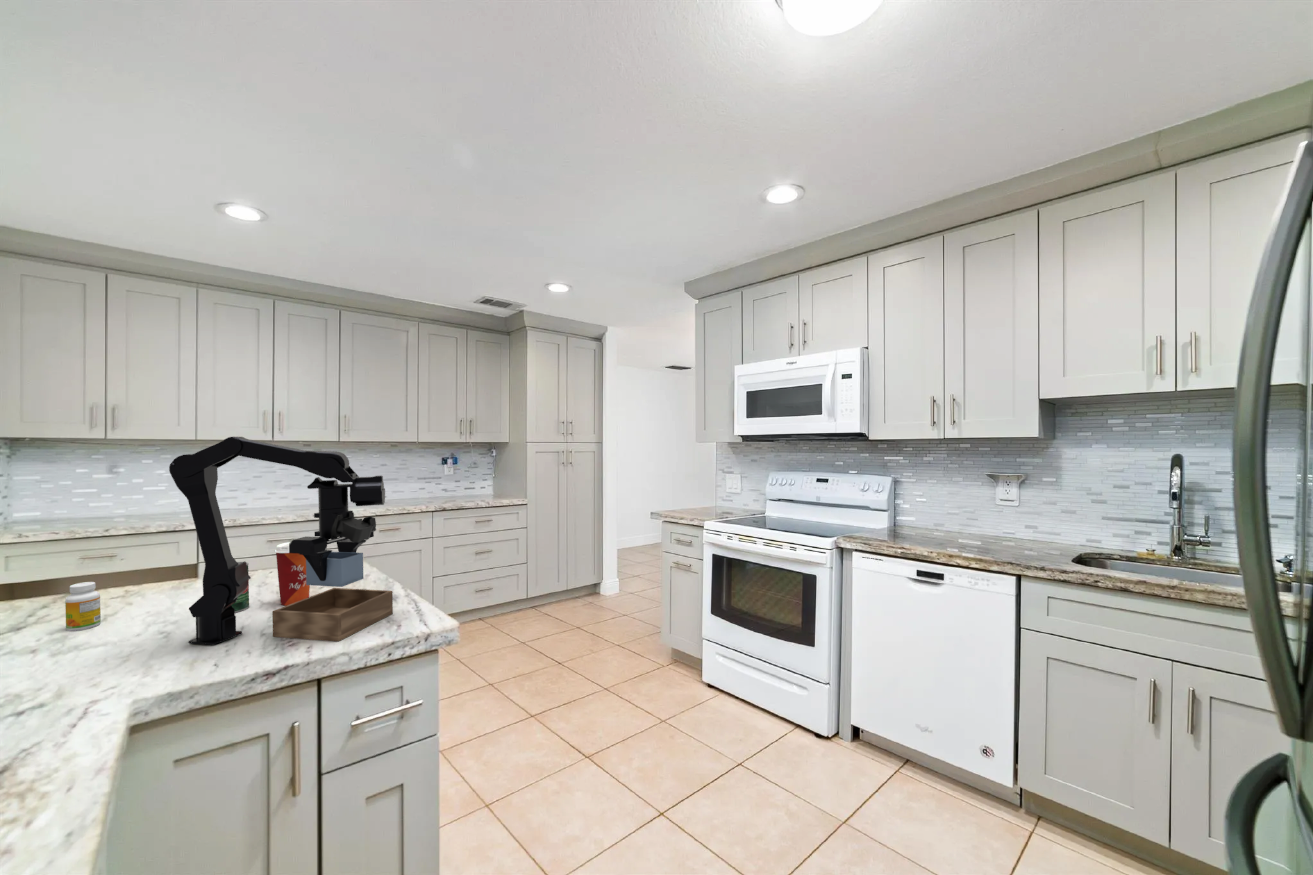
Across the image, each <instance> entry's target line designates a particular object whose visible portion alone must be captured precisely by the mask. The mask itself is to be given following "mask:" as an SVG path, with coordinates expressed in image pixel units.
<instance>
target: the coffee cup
mask: <svg viewBox="0 0 1313 875" xmlns="http://www.w3.org/2000/svg"><path fill="white" fill-rule="evenodd" d="M290 542H291V541H290ZM290 542H289V541H288V542H283V543H279V544H277V545H276V546H275V547H276V548H275V550H274V553H275V558H276V566H277V580H278V591H279V599H280V605H281V606H283V607H285V606H287V605H290V604H293V603H295V602H298V601H300V600H303V599H306V598H308V597H310V586H311V585H306V558H305V557H304V556H303V555H299V554H297V553H289V543H290Z"/></svg>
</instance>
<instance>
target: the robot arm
mask: <svg viewBox="0 0 1313 875" xmlns="http://www.w3.org/2000/svg"><path fill="white" fill-rule="evenodd" d="M237 457H242V458H247V459H254V460H259V461H263V462H269V463H274V464H279V465H285V466H290V467H296V468H299V469H300V470H301V469H302V470H304V471H305V472H308V473H310V474H314V475H317V476H318V477H315V478H314V480H313V481H312V482H311V483H310V484H308V485H307V486H306V487H307V489H310V490H311V489H312V490H313V489H318V490H317V494H318V512H314V513H313V518H314V519H318V530H317V531H314V536H302V537H298V538H294V539H292V540H291V541H290V543H289V553H297V554H299V555H303V556H304V557H305V558H306V560H307V561H308V562H309V564H310V565H311V567H312V568H313V570H314V571H315V573H316V575H317V576H318V578H319V580H320V581H325V580H326V573H327V557H328V555H329V554H330V553H331V552H333V550H331V549H328V545H331V544H334V543H336V547H337V550H338V551H337V552H355V553H357V550H358V549H359V548H360V547H361V546H362V545H363V544H364V543H366V542H367V541H368V540H370V538H371V539H372V538H374V537H375V532H376V531H377V528H376V526H377V522H376V521H377V520H376V517H374V516H366V517H364V518H363V519H362V518H356V517H355V513H354V511H353V510H349V500H350V503H352V504H354V505H355V507H367V506H369V507H370V506H384V505H385V501H386V488H385V485H384V483H385V482H384V476H383V475H374V476H359V475H358V474H357V473H356V471H354V469H353V468H352V467H351V465H350V460H349V458H348V457H347V455H346V454H345V453H343V452H341V451H334V450H333V451H330V450H307V449H306V450H304V449H299V448H294V447H290V446H284V445H280V444H273V443H269V442H264V441H259V440H253V439H248V438H245V437H243V436H229V437H227V438H225V439H223V440H222V441H220V442H218V443H215V444H212V445H211V446H208V447H205V448H203V449H201V450H199V451H197V452H195V453H188V454H182V455H178V456H177V457H176V458H174V459H173V460H172V462H170V464H169V466H168V467H169V468H168V470H169V475H171V478H172V480H173V482H174V483H175V486H176V487H177V489H178V490H179V491H180V492H181V493H182V494H183V496H184V497H186V500H187V502H188V505H189V510H190V512H191V516H192V520H193V524H194V527H195V531H196V535H197V539H198V542H199V546H200V549H201V553H202V557H203V561H204V571H203V575H202V576H203V577H202V596H201V597H199V598H198V599H197V600H196V601H195V602H194V603H193V604H192V605H191V606H189V608H188V610H189V612H190V614H191V617H193V618H195V638H192V639H190V640H188V644H192V645H193V644H195V645H206V646H207V645H208V646H214V645H218V644H221V643H222V642H225V641H228V640H230V639H233V638H235V637H237V636H239V635H242V634H243V631H242V630H237V616H236V613H235V608H233V607H232V606H231V605H232V604H233V603H235V602H236V601H237V598H238V596H239V595H241V594H242V593H243V592H244V591H245V590H246V588H247V586H248V580H250V579H251V576H250V575H249V574H248V573H249V572H248V573H247V565H246V562H247V561H246V560H245V561H240V562H241V563H239V564H238V563H237V562H238V561H236V559H235V557H233V555H232V552H231V548H230V544H229V541H228V537H227V533H226V529H225V525H224V522H223V521H224V520H223V518H222V517H223V516H222V513H221V510H220V507H219V506H220V505H219V502H218V498H217V495H216V494H217V493H216V491H217V485H218V480H219V479H218V477H219V474H218V468H221V467H222V466H224V465H226V464H228V463H229V462H232V461H233V460H234V459H236V458H237ZM321 477H322V478H324V479H327V480H323V479H322V478H321ZM339 482H341V483H339Z"/></svg>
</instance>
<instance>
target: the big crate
mask: <svg viewBox="0 0 1313 875" xmlns="http://www.w3.org/2000/svg"><path fill="white" fill-rule="evenodd" d="M393 599H394V598H393V590H384V589H383V590H382V589H381V590H380V589H366V588H365V589H364V588H363V589H362V588H347V587H346V588H345V587H332V588H329V589H327V590H325V591H322V592H319V593H317V594H314V595H311V596H309V597H308V598H306V599H303V600H300V601H298V602H295V603H293V604H290V605H287V606H283V607H279V608H277V609H274V610H272V611H271V612H272V638H285V639H297V640H310V641H311V640H313V641H314V640H315V641H327V642H341V641H342V640H344V639H346V638H349V637H350V636H351V635H354V634H356V633H358V632H360V631H362V630H363V629H366V628H367V627H370V626H372V625H374V624H376V623H377V622H379V621H381V620H384V619H385V618H387V617H390V616H391V615H393V613H394V609H393V608H394V606H393V604H394V603H393V602H394V601H393Z"/></svg>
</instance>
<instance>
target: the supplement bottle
mask: <svg viewBox="0 0 1313 875" xmlns="http://www.w3.org/2000/svg"><path fill="white" fill-rule="evenodd" d="M69 593H70V594H69V595H68V596H66V597H65V601H64V602H65V603H64V604H65V605H64V606H65V607H64V608H65V630H66V631H69V632H79V631H83V630H88V629H92V628H95V627H97V626H99V625H100V624H101V622H102V619H101V618H102V617H101V594H100V592H99V591H97V590H96V582H94V581H85V582H77V583H75V584H72V585H70V586H69Z"/></svg>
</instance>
